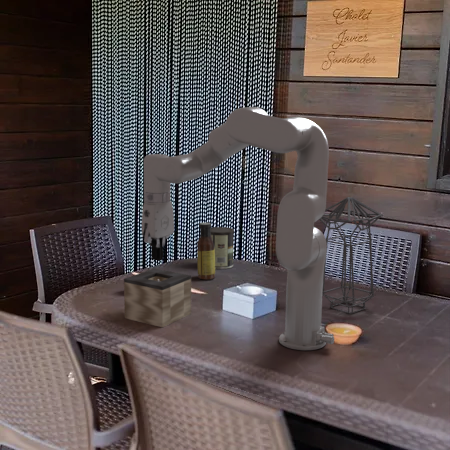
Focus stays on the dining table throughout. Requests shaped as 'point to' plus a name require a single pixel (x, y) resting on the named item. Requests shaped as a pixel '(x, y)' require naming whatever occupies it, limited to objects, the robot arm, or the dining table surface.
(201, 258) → the sauce bottle
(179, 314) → the socket
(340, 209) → the geometric lantern
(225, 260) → the coffee can
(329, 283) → the dining table surface
